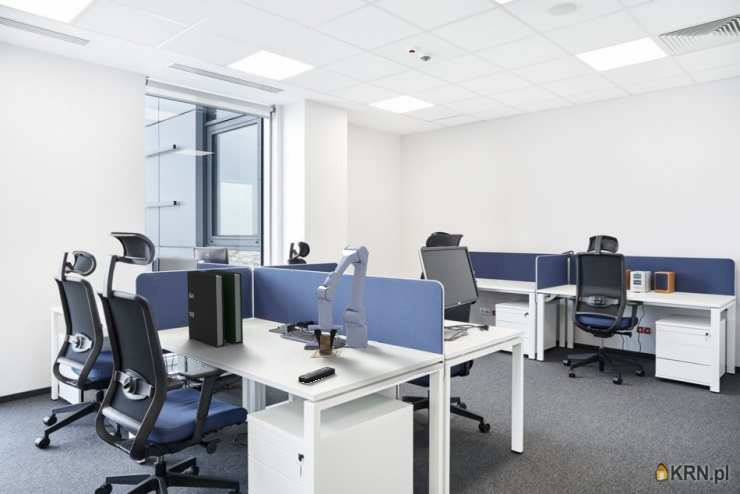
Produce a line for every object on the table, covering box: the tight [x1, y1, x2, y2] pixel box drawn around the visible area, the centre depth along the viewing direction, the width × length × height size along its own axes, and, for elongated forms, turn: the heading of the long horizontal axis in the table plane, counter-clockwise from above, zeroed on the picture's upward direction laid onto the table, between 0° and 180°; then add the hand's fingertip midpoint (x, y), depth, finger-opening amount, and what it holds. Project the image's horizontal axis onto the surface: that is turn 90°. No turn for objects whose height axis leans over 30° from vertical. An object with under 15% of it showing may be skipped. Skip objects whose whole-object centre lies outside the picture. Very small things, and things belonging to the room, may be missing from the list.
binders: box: [186, 269, 244, 349], centre depth 232 cm, size 27×15×32 cm, turn 44°
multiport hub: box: [298, 366, 336, 384], centre depth 175 cm, size 4×14×2 cm, turn 143°
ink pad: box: [303, 342, 320, 350], centre depth 218 cm, size 8×6×2 cm
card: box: [310, 349, 342, 358], centre depth 207 cm, size 11×11×1 cm
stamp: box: [318, 333, 334, 354], centre depth 207 cm, size 5×5×7 cm
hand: (325, 347), depth 207 cm, fingers closed on stamp, 4 cm apart
